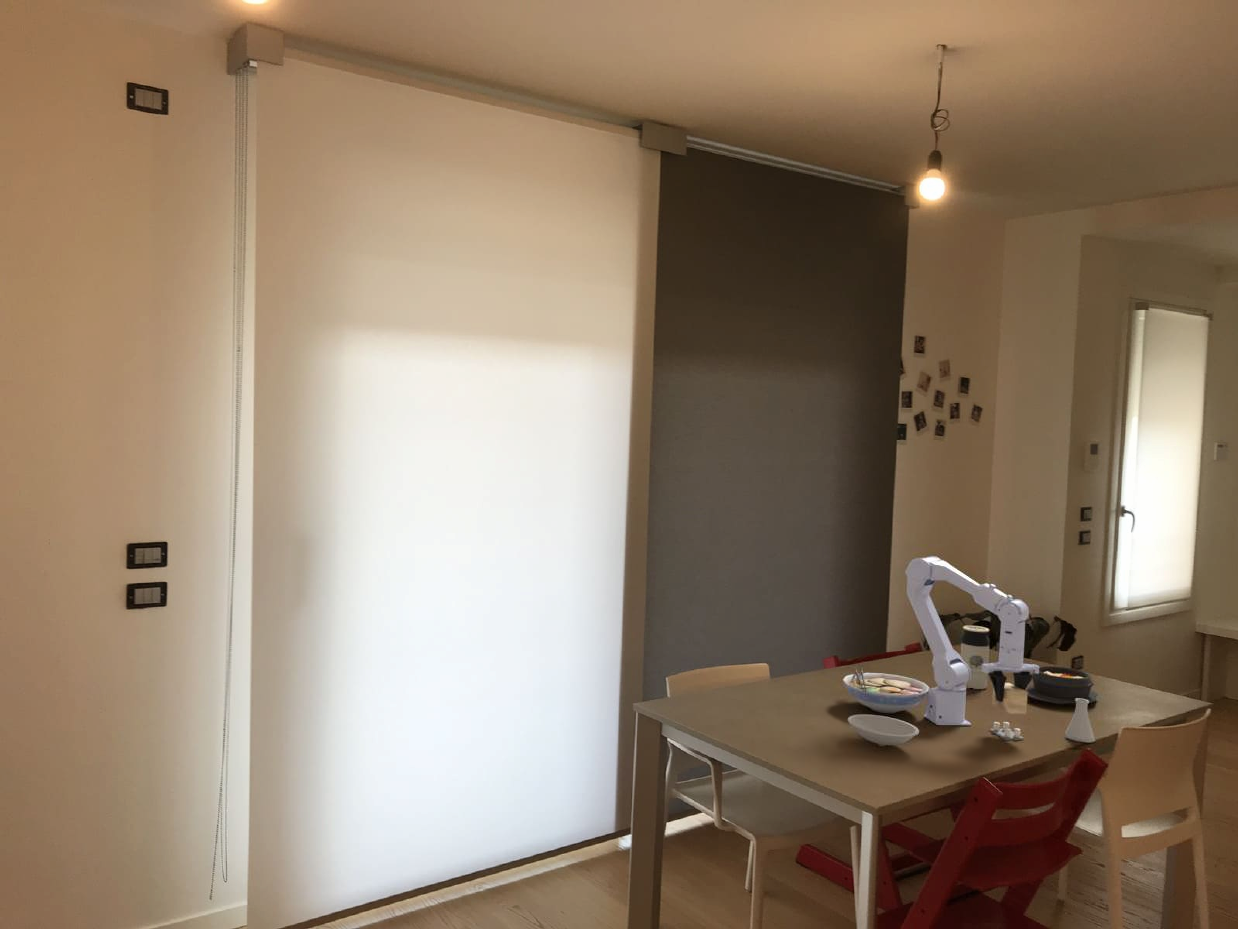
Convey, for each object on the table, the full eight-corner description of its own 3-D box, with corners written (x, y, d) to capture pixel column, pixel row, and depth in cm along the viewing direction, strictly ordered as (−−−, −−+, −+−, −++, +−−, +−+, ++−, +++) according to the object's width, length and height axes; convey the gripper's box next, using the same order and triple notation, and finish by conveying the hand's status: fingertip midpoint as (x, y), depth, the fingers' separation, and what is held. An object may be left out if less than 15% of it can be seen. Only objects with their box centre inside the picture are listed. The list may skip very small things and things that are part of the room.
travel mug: (960, 681, 295) (963, 624, 294) (987, 685, 291) (991, 627, 291) (957, 687, 287) (960, 628, 287) (985, 691, 284) (988, 632, 283)
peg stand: (1005, 740, 237) (1005, 730, 237) (989, 730, 245) (990, 721, 244) (1023, 740, 238) (1024, 730, 238) (1007, 730, 245) (1008, 721, 245)
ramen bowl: (933, 727, 245) (935, 696, 245) (843, 718, 250) (844, 688, 249) (922, 701, 269) (924, 673, 269) (840, 694, 274) (841, 666, 274)
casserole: (1068, 714, 263) (1070, 684, 263) (1007, 697, 278) (1009, 669, 278) (1113, 702, 278) (1115, 674, 278) (1053, 687, 293) (1054, 660, 293)
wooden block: (992, 703, 245) (993, 682, 244) (1008, 704, 245) (1009, 683, 245) (1009, 713, 236) (1011, 692, 236) (1026, 714, 237) (1027, 692, 237)
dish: (833, 740, 231) (834, 720, 231) (868, 730, 240) (869, 711, 240) (896, 761, 218) (897, 740, 218) (930, 750, 227) (931, 729, 227)
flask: (1068, 732, 246) (1070, 694, 246) (1098, 739, 242) (1101, 700, 241) (1060, 738, 241) (1063, 699, 240) (1091, 745, 236) (1094, 706, 236)
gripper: (992, 651, 236) (989, 705, 236) (1047, 651, 237) (1044, 705, 238) (978, 644, 243) (975, 697, 243) (1031, 645, 244) (1028, 697, 245)
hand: (1008, 700), depth 241 cm, fingers closed on wooden block, 4 cm apart
